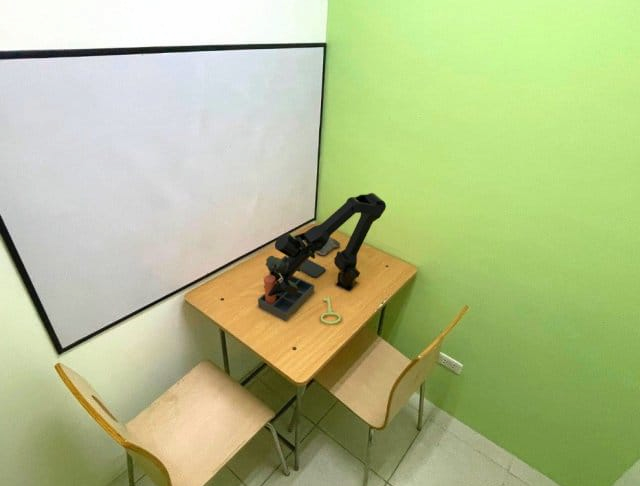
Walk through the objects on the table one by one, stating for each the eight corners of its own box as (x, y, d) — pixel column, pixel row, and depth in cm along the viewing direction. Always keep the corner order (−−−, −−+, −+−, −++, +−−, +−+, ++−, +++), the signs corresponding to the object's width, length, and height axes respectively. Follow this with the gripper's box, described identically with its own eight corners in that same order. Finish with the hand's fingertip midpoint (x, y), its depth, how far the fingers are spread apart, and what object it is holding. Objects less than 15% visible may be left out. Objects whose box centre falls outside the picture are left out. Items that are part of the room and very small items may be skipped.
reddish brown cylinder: (277, 301, 140) (276, 275, 132) (274, 308, 137) (273, 282, 129) (267, 299, 140) (265, 274, 132) (264, 306, 137) (262, 281, 129)
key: (328, 299, 143) (329, 295, 142) (342, 322, 134) (343, 318, 133) (311, 304, 141) (311, 300, 139) (324, 327, 132) (324, 323, 131)
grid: (313, 292, 146) (314, 285, 143) (285, 321, 133) (285, 313, 131) (287, 280, 151) (287, 273, 148) (258, 307, 138) (257, 299, 135)
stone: (309, 252, 171) (323, 262, 165) (306, 244, 167) (320, 253, 161) (328, 238, 175) (342, 247, 169) (326, 230, 172) (341, 238, 165)
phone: (300, 254, 163) (326, 268, 156) (300, 256, 164) (326, 270, 157) (288, 262, 159) (315, 277, 151) (288, 263, 159) (315, 278, 152)
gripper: (270, 236, 132) (242, 268, 135) (289, 267, 119) (258, 301, 122) (291, 249, 139) (264, 279, 142) (311, 279, 126) (281, 311, 130)
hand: (266, 291), depth 134 cm, fingers closed on reddish brown cylinder, 4 cm apart
